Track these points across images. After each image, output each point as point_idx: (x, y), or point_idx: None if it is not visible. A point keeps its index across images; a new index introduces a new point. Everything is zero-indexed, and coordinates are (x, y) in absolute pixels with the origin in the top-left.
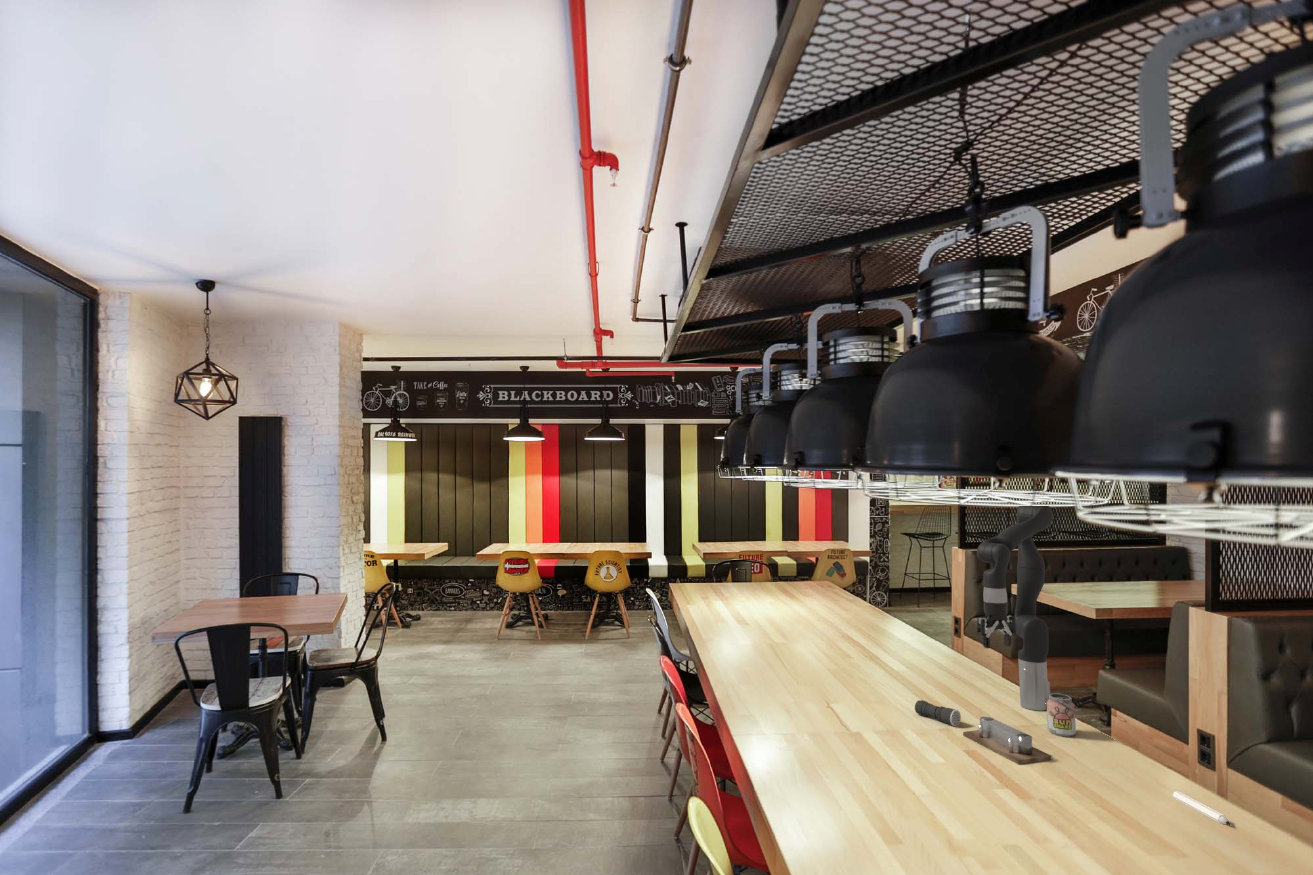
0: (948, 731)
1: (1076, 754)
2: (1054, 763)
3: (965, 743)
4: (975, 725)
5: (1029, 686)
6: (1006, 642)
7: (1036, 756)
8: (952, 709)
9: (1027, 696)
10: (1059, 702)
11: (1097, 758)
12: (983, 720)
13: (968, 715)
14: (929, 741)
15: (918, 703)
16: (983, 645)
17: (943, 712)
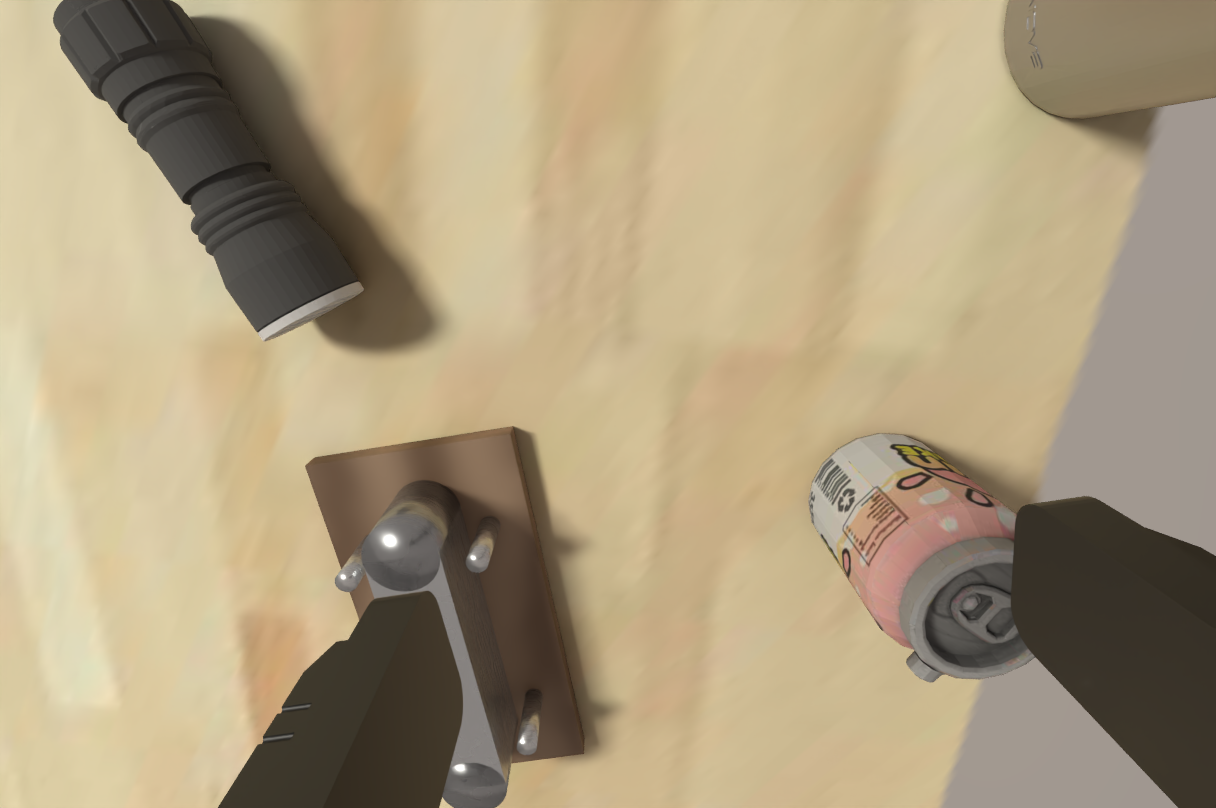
0: (252, 388)
1: (728, 710)
2: (572, 767)
3: (284, 550)
4: (457, 319)
5: (1162, 38)
6: (1080, 621)
7: (514, 754)
8: (271, 304)
9: (1074, 43)
10: (907, 662)
11: (782, 749)
12: (368, 575)
13: (502, 129)
14: (101, 505)
15: (67, 51)
16: (328, 655)
17: (222, 277)
